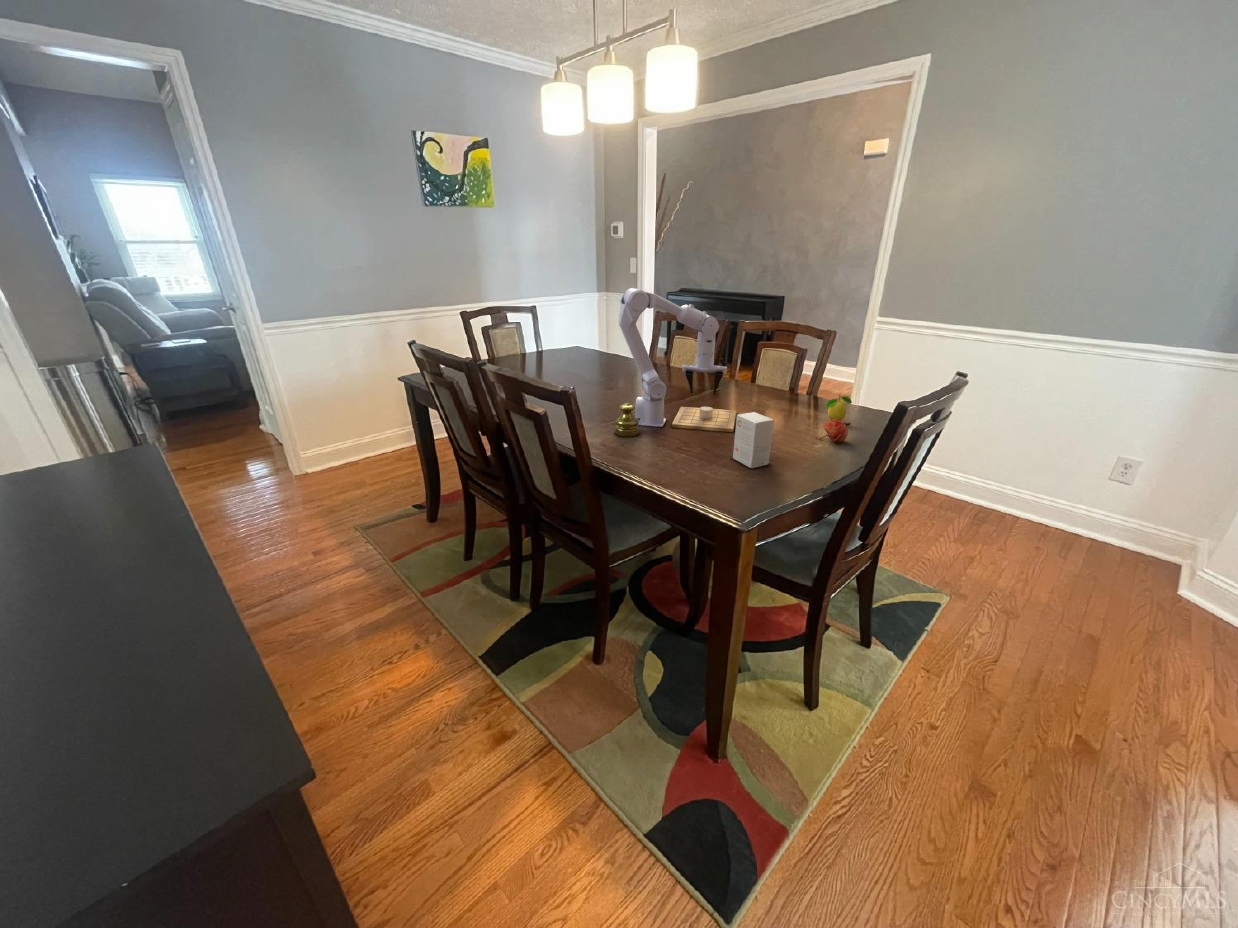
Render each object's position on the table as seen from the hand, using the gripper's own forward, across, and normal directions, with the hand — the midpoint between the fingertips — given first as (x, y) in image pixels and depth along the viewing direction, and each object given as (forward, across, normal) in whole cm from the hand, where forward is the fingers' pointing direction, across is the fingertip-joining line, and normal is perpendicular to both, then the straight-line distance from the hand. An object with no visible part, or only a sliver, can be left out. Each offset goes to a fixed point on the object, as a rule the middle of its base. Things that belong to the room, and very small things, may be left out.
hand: (702, 393), depth 167 cm
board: (+9, +1, -1) cm, 9 cm away
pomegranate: (+10, +41, -14) cm, 44 cm away
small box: (+10, +15, -35) cm, 39 cm away
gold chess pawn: (+10, -23, -18) cm, 31 cm away
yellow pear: (+10, +45, +5) cm, 46 cm away
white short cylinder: (+8, +1, -1) cm, 8 cm away
